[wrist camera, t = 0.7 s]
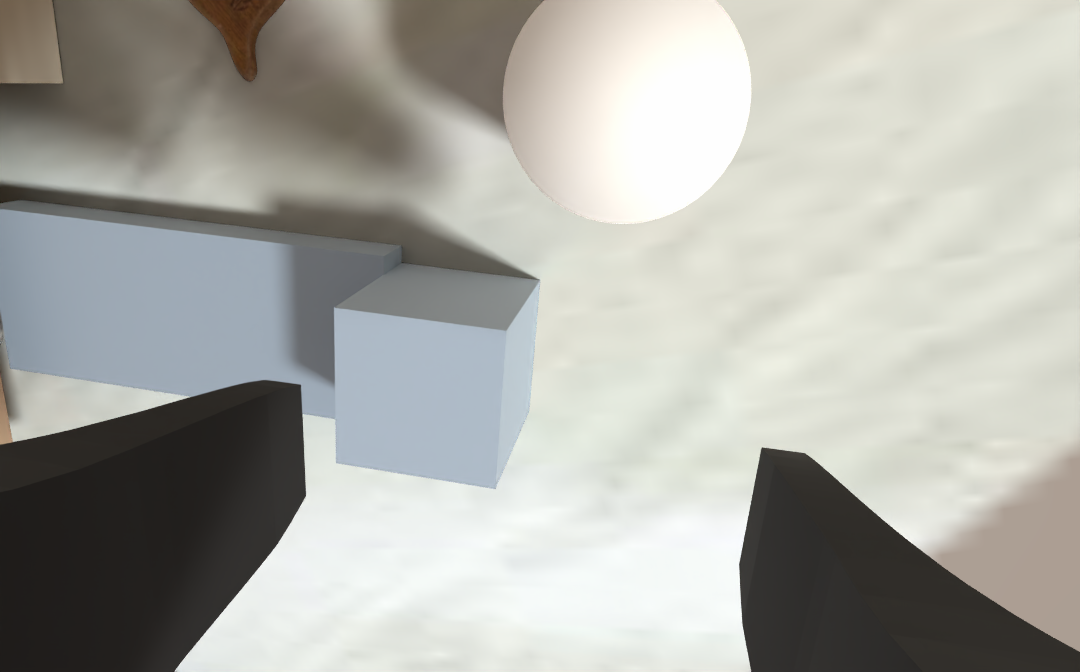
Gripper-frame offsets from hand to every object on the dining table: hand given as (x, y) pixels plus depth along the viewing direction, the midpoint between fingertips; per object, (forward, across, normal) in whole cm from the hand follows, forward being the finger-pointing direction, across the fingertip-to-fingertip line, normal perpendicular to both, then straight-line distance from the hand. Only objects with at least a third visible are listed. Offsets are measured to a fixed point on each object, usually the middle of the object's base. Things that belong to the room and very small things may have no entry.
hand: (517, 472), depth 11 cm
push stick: (+10, +9, +1) cm, 13 cm away
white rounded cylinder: (+10, -1, -5) cm, 11 cm away
